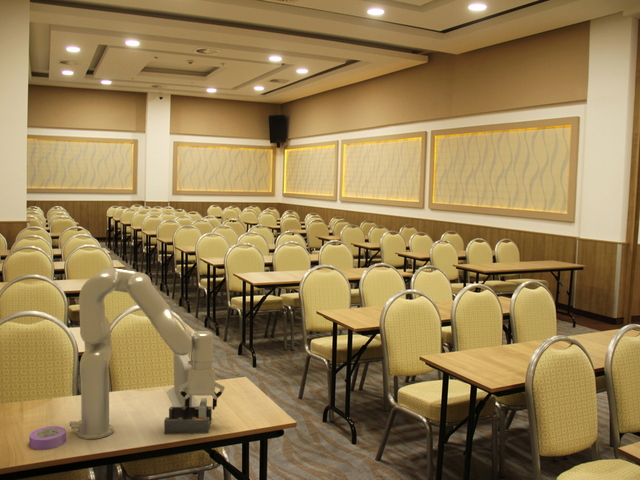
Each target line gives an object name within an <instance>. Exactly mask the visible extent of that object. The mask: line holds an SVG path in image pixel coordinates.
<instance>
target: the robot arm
mask: <svg viewBox="0 0 640 480" xmlns="http://www.w3.org/2000/svg"><path fill="white" fill-rule="evenodd" d="M113 292H121V293H127V294H128V295H129V296H130V298H131V299H132V300H133V301H134V303H135V304H136V306H138V307H139V309H140V310H141V311H142V312H143V314H144V315H145V316H146V317H147V319H148V320H149V322H150V323H151V324H152V326H153V328H154V329H155V330H156V332H157V333H158V334H159V336H160V338H161V339H162V340H163V342H164V343H165V344H166V345H167V346H168V348H169V349H170V350H171V351H172V353H173V354H174V353H175V354H177V355H180V356H184V355H189V353H191V351H192V354H191V355H192V357H191V358H192V359H190V360H191V361H188V364H190V365H191V366H192V367H191V368H190V370H189V375H188V382H186V383H184V384H182V385H180V386H179V387H178V389H179V391H180V393H181V395H182V396H183V397H184V398H185V407H187V410H188V409H189V406H190V397H189V396H190V395H193V396H211V397H212V411H214V410H215V409H216V408H217V407H218V406H217V404H218V398H219V397H221V396H222V394H223V393H224V390H225V388H226V387H225V386H224V385H223V384H220V383H218V382H216V372H215V368H214V367H213V353H214V334H213V332H211V331H208V330H198V331H196V330H189V329H188V330H187V329H183V328H182V327H181V326H180V325H179V324H178V322H177V320H176V318H175V316H174V314H173V312H172V309H171V308H170V306H169V304H168V303H167V301H166V300H165V299H164V298H163V297H162V296H161V294H160V293H159V292H158V290H157V289H156V287H155V286H154V285H153V284H152V280H151V278H150V276H149V275H147V274H146V273H143V272H139V271H133V270H129V269H122V268H121V269H120V268H116V267H106V268H103V269H101V270H100V271H98V272H97V273H96V274H95V275H93V276H92V277H89V279H87V280H86V281H85V283H83V285H82V287H81V289H80V292H79V298H78V299H79V300H78V302H79V303H78V304H79V335H80V338H81V339H82V342H84V352H83V353H82V355H81V357H80V362H79V374H80V393H81V394H80V396H81V397H80V398H81V399H80V401H81V403H80V404H81V405H80V406H81V408H80V409H81V410H80V413H81V418H80V419H81V420H79V421H75V420H73V421H71V420H70V421H69V427H70V428H71V430H72V429H77V431H76V435H77V437H78V438H80V439H84V440H96V439H103V438H105V437H108V436H110V435H112V434H113V432H114V426H113V425H112V424H110V380H109V379H110V378H109V373H110V372H109V365H110V364H109V363H110V360H111V358H112V354H113V353H112V335H111V333H112V332H111V324H110V321H109V318H108V317H106V312H105V311H106V308H105V298H106V296H108V295H109V294H112V293H113ZM185 387H187V393H186V392H185V391H184V390H183V388H185ZM216 388H217V389H219V391H218V392H216Z"/></svg>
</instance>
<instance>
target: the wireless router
mask: <svg viewBox="0 0 640 480" xmlns="http://www.w3.org/2000/svg"><path fill="white" fill-rule="evenodd" d="M188 355H189V354H187V355H184V356H180V355H177V354H175V353H174V352H173V388H169V389H168V390H167V392H166V393H167V395H168V397H169V400H170V403H171V405H172V407H185V398H184V397H183V396H182V395H181V393H180V391H179V389H178V387H179V386H180V385H182V384H184V383H186V382H188V375H189V370H190V368H191V367H192V366H191V365H190V364H188V361H191V360H192V359H190V357H189V356H188ZM183 390H184V391H185V392H186V393H187V387H185V388H183ZM189 397H190V406H189V407H199V405H200V404H199V403H198V402H197V400H196V398H195V395H190V396H189Z"/></svg>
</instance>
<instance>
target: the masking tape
mask: <svg viewBox="0 0 640 480" xmlns="http://www.w3.org/2000/svg"><path fill="white" fill-rule="evenodd" d="M28 439H29V447H30V448H31V449H34V450H41V451H42V450H43V451H44V450H45V451H46V450H51V449H55V448H56V449H57V448H58V447H61V446H63V445H64V444H65V443H66V442H67V429H66V428H65V427H63V426H58V425H56V426H55V425H53V426H43V427H40V428H36V429H35V430H33V431H31V432H30V433H29V438H28Z"/></svg>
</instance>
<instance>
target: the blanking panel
mask: <svg viewBox="0 0 640 480" xmlns="http://www.w3.org/2000/svg"><path fill="white" fill-rule="evenodd" d="M207 399H208V398H207V397H201V398H200V403H199V404H198V405H199V419H205V418H206V417H207V406H208V404H207V403H208V400H207Z"/></svg>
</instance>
